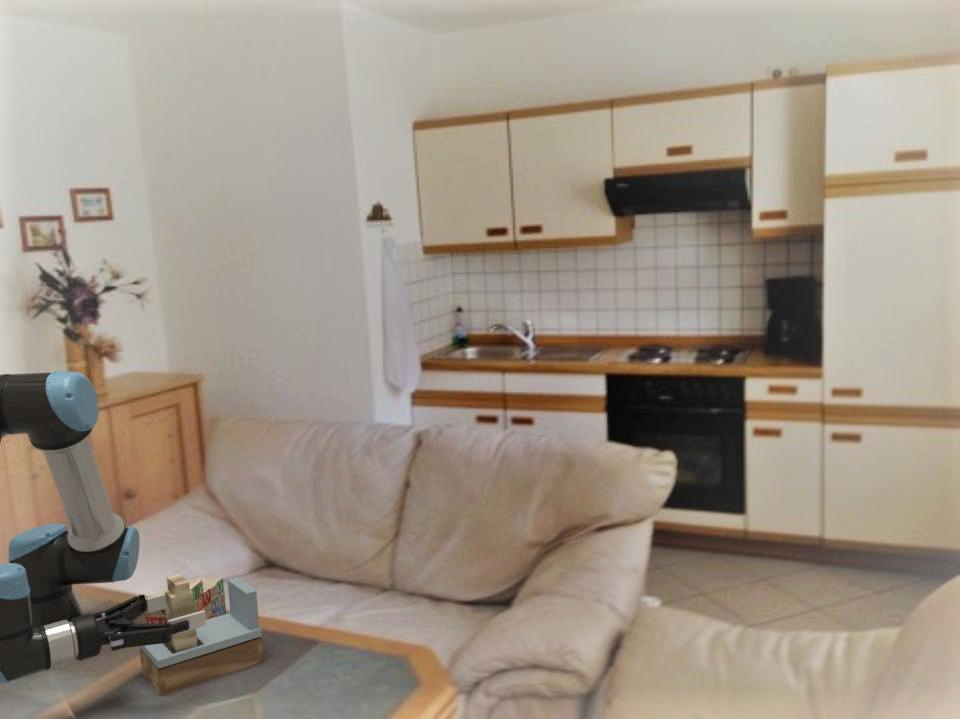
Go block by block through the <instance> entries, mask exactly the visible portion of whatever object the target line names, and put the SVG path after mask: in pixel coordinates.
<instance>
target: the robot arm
mask: <svg viewBox="0 0 960 719" xmlns="http://www.w3.org/2000/svg"><path fill="white" fill-rule="evenodd" d="M98 402H99V399H98V395H97V392H96V389H95V387H94V385H93V384H92V382H91V380H90V379H89V378H88V377H87V376H86V375H85V374H83V373H81V372H78V371H64V370H55V371H52V372H34V373H29V372H28V373H13V374H11V373H4V374H0V444H1V441H2V438H3V437H5V436H7V435H22V434H27V437H28V439H29V442H30V444H31V446H32V447H33V448H34V449H36V450H37V451H38V450H39V451H42V452H43V455H44V457H45V461H46V463H47V465H48V469H49V471H50V474H51V477H52V479H53V482H54V485H55V488H56V490H57V493H58V496H59V499H60V502H61V504H62V506H63V510H64V512H65V515H66V517H67V520H68V523H69V526H70V529H69V530H68V527H67V525H66V524H65V523H58V522H57V523H51V524H45V525H41V526H40V525H39V526H37V527H34V528H31V529H27V530H25V531H23V532H21V533H18V534H17V535H15V536H13V537H12V538H11V540H10V541H9V543H8V562H6V563H1V564H0V684H1V685H2V684H8V683H10V682H12V681H15V680H19V679H21V678H25V677H27V676H32V675H34V674H35V675H36V674H39V673H41V672H45V671H49V670H52V669H54V670H59V669H61V667H62V666H65V665H69V664H73V663H74V661H76V660H78V661H80V662H81V661H84V660H87V659H91V658H94V657H98V656H99V655H100V653H101V651H102V649H101V648H102V647H103V645H110V650H111V651H117V650H121V649H129V648H134V647H136V648H137V647H139V646H145V645H154V644H162V643H169V642H171V641H172V639H171V636H172V635H176V634H179V633H182V632H186V631H189V630H193V629H196V628H199V627H203V626H206V616H205V611H204V610H203V611H199V612H196V613H192V614H189V615H185V616H182V617H178V618H175V619H171V620H168V623H147V622H146V623H143V622H142V623H135V622H134V620H136V619H137V618H138V617H139V616H141V615H143V614H144V613H146V609H147V612H148V613H151V612H154V611H158V610H162V609H165V608H166V599H165V594H162V595H158V596H155V595H154V596H150V597H148V598H146V595H145V594H139V595H138V596H133V597H131V598H130V599H127V600H125V601H123V602H121V603H118V604H116V605H114V606H111V607H110V608H107V609H105V610H102V611H99V612H95V613H86V614H84V611H83V609H82V608H81V606H80V603H79V602H78V600H77V597H76V596H75V594H74V591H73V590H74V589H73V585H91V584H106V583H107V584H108V583H115V582H123V581H127V580H129V579H131V578H132V576H134V574H135V571H136V569H137V565H138V561H139V555H140V532H139V530H138V528H137V527H134V526H128V527H126V525H125V521H124V519H123V517H121V516H120V515H119V514H117V513H114V512H113V509H112V506H111V503H110V500H109V497H108V494H107V490H106V487H105V484H104V480H103V478H102V475H101V471H100V468H99V466H98V463H97V459H96V456H95V453H94V449H93V447H92V444H91V441H90V438H89V436H90V435H91V434H92V432H93V430H94V427H95V426H96V424H97V422H98V419H99V413H100V412H99V411H100V410H99V405H98Z"/></svg>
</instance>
